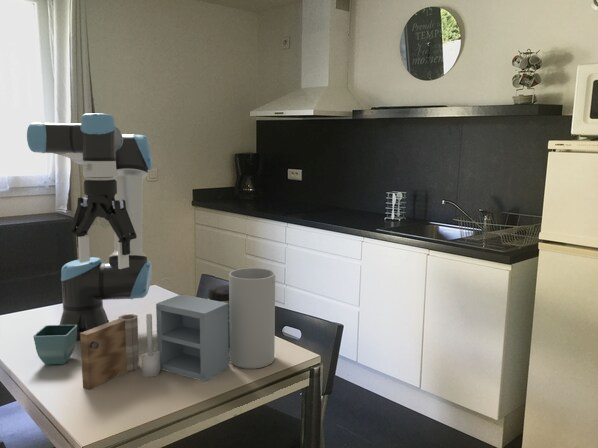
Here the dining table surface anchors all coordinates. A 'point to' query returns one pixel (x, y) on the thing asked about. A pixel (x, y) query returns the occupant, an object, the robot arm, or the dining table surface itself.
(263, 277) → the cylinder vase
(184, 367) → the cabinet
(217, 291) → the coffee jar
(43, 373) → the dining table surface
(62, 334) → the flower pot
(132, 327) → the brown panel with tube
